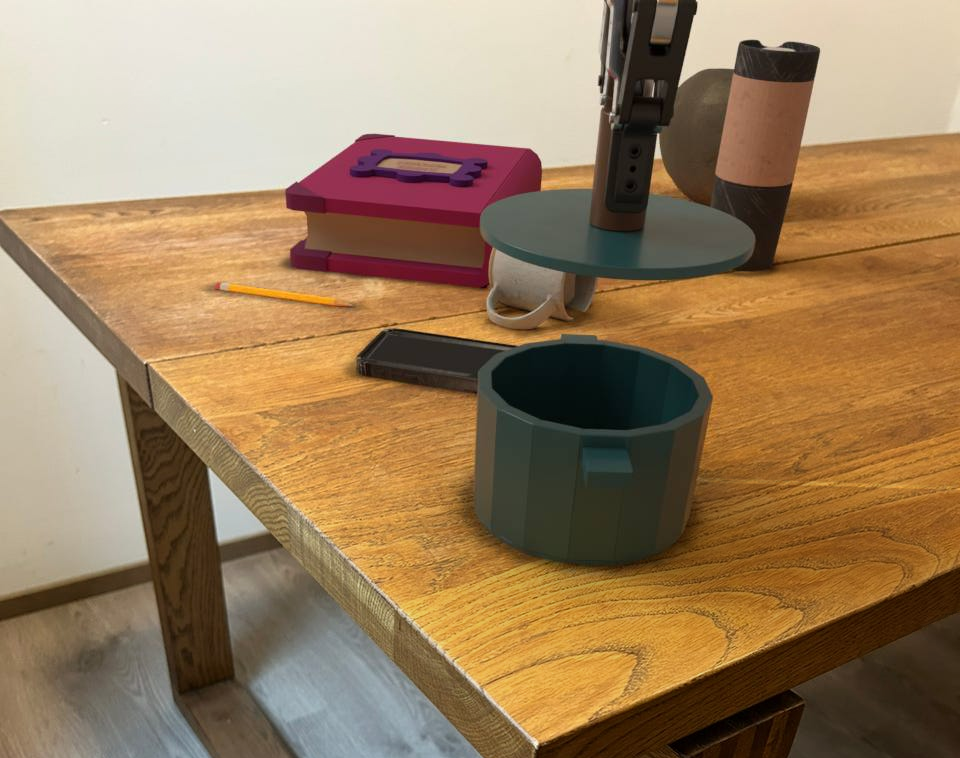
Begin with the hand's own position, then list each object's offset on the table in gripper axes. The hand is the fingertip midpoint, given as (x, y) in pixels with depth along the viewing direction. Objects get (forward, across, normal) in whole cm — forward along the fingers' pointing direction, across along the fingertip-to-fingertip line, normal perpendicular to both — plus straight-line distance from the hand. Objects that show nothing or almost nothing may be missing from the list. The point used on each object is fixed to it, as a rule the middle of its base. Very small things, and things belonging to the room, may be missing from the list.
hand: (620, 199), depth 53 cm
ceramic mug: (+19, +33, +2) cm, 38 cm away
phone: (+19, +20, +8) cm, 29 cm away
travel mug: (+19, +50, -20) cm, 57 cm away
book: (+19, +55, +12) cm, 59 cm away
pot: (+18, -1, 0) cm, 18 cm away
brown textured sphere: (+18, +72, -21) cm, 78 cm away
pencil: (+19, +35, +24) cm, 47 cm away
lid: (+2, 0, 0) cm, 2 cm away
